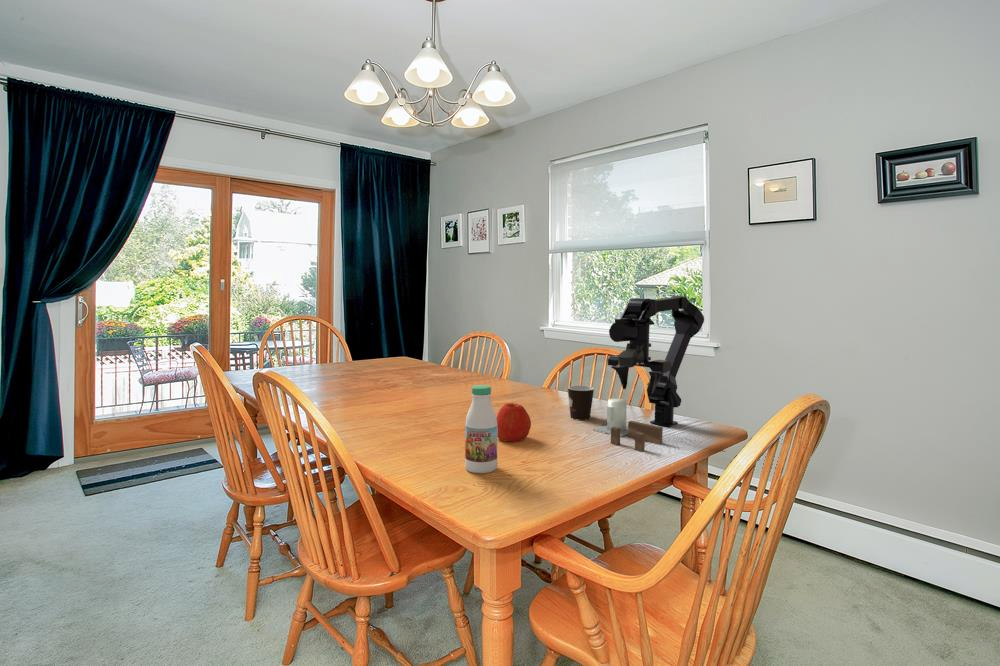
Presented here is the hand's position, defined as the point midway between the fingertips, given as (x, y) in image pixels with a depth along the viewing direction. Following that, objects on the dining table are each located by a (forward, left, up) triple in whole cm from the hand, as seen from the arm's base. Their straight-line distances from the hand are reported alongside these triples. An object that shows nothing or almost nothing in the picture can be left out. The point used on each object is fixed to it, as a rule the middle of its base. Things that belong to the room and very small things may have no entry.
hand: (637, 391), depth 159 cm
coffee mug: (-1, -22, -12) cm, 25 cm away
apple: (+34, -20, -12) cm, 41 cm away
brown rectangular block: (+12, +7, -12) cm, 18 cm away
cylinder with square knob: (+5, -4, -12) cm, 13 cm away
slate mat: (+5, -4, -12) cm, 14 cm away
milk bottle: (+57, -8, -12) cm, 59 cm away
